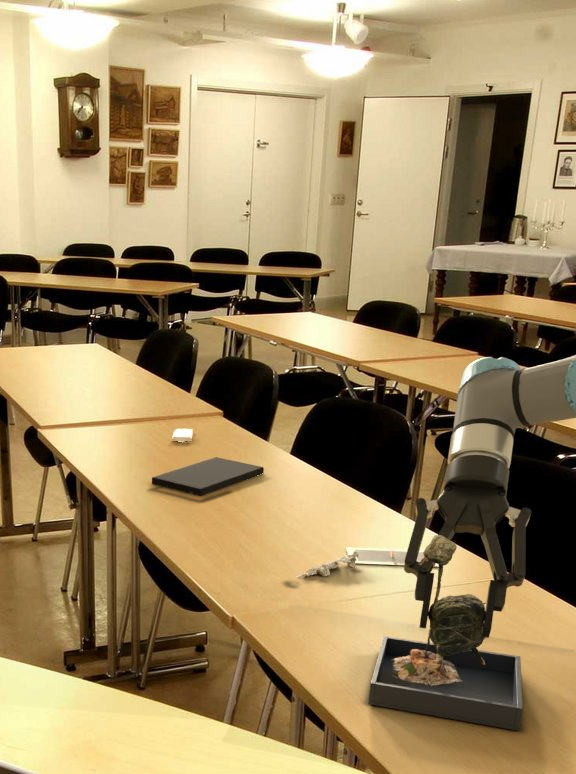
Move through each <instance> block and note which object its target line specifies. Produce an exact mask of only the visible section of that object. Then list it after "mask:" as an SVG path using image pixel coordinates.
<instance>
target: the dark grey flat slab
mask: <svg viewBox="0 0 576 774" xmlns="http://www.w3.org/2000/svg"><path fill="white" fill-rule="evenodd" d="M264 469H265V468H264V466H260V465H256V464H250V463H245V462H241V461H236V460H232V459H227V458H222V457H217V456H215V457H211V458H210V459H205V460H202V461H200V462H196V463H193V464H190V465H188V466H183V467H180V468H178V469H177V468H176V469H174V470H171V471H168V472H165V473H162V474H159V475H155V476H152V477H151V485H155V486H158V487H163V488H167V489H170V490H174V491H178V492H182V493H185V494H191V495H195V496H198V497H202V496H206V495H209V494H211V493H214V492H217V491H221V490H222V489H225V488H228V487H231V486H234V485H236V484H240V483H242V482H244V481H245V482H246V481H248V480H250V478H251V479H253V478H252V477H254V478H256V477H258V476H257V475H259V476H261V475H260V474H262V473H263V474H264ZM263 474H262V475H263ZM255 476H256V477H255ZM247 479H248V480H247Z"/></svg>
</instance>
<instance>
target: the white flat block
mask: <svg viewBox="0 0 576 774" xmlns="http://www.w3.org/2000/svg"><path fill="white" fill-rule="evenodd" d="M192 436H193V437H194V431H193V428H176V429H174V431H173V434H172V437H171V442H172V441H178V442H182V443H181V444H184V443H183V442H184V441H191V442H192V440H193V437H192ZM191 439H192V440H191Z"/></svg>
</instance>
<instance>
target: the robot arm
mask: <svg viewBox="0 0 576 774" xmlns="http://www.w3.org/2000/svg"><path fill="white" fill-rule="evenodd" d="M460 380H461V381H460V384H459V389H458V390H457V394H456V405H455V414H454V421H453V428H452V434H451V436H450V444H449V449H448V455H447V466H446V468H445V474H444V475H445V476H444V481H443V487H442V492H441V494H440V495H439V496H438V497H437V499H432V500H431V499H430V500H426V499H425V498H423V497H420V498H417V499H416V500H415V521H414V526H413V529H412V532H411V536H410V540H409V542H408V543H409V544H408V546H407V549H406V550H407V554H406V557H405V562H404V565H403V570H404V573H406V574H412V575H414V576H415V577H416V583H415V590H414V601H419V602H422V608H421V614H420V620H419V629H427V625H428V620H429V618H428V612H429V609H430V607H431V600H432V599H431V598H432V592H433V587H434V579H435V572H432V571H433V569H434V568H435V564H436V563H434V562H428V561H426V562H424V563H423V564H422V565H419V562H418V561H417V557H418V553H419V550H421V546H422V542H423V539H424V535H425V532H426V528H427V522H428V519H431V518H432V517H433V515H434V512H435V511H438V513H439V514H440V516H441V517H442V518H443V520H444V523H443V525H442V527H441V529H440V530H439V532H438V533H437V535H442V536H443V537H445V538H446V539H448V540H452V539H453V537H454V536H455V534H456V533H461V534H462V533H470V534H473V535H480V538H481V541H482V543H483V546H484V550H485V552H486V556H487V560H488V563H489V567H490V570H491V575H492V579H490V581H489V585H488V589H487V596H486V602H485V603H486V604H485V612H486V613H485V619H484V625H483V633H482V637H485V638H490V635H491V632H492V626H493V618H494V612H499V613H500V612H502V611H503V610H504V609H505V608H504V607H505V605H506V599H507V598H506V597H507V590H508V588H510V587H517V588H518V587H521V586H522V585H523V584H524V580H525V577H526V553H527V552H526V550H527V549H526V547H527V545H526V543H527V542H526V539H527V538H526V537H527V534H526V532H527V526H528V524H529V521H530V518H531V514H532V510H531V509H530V508H529V507H522V508H521V509H518V508H515V507H512V506H510V503H509V502H508V499H507V492H508V484H509V478H510V466H511V464H512V463H511V462H512V455H513V447H514V439H515V433H516V430H517V429H519V428H524V427H525V428H526V427H532V426H535V425H540V424H547V423H553V422H560V421H565V420H572V419H576V354H575V355H571V356H570V357H565V358H563V359H559V360H556V361H551V362H547V363H544V364H539V365H536V366H532V367H527V368H526V367H525V368H521V367H520V365H519V364H518V363H517V362H515V361H514V360H512V359H509V358H507V357H503V356H501V357H499V358H494V357H492V356H487V357H481V358H480V359H477V360H475V361H473V362H471V363H470V364H469V365H468V366H466V368H465V369H464V371H463V373H462V375H461V379H460ZM506 517H507V518H508V524H509V525H510V526H511V527H512V528H513V531H512V536H511V537H512V539H511V540H512V541H511V543H512V545H511V572H508V569H507V567H506V563H505V559H504V556H503V552H502V549H501V545H500V542H499V538H498V535H497V528H496V525H497V524H498V523H499V522H500V521H502V520H503V519H505V518H506Z"/></svg>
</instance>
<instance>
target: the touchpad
mask: <svg viewBox="0 0 576 774" xmlns="http://www.w3.org/2000/svg"><path fill="white" fill-rule="evenodd" d="M345 549H346V553H347V555H352V554H353V552H354V551H355V552H357V554H358V558H357V557H356V560H357V561H355V564H363V565H388V566H389V565H391V566H404V562H405V557H406V554H407V550H408V549H403V548H402V549H400V548H378V547H377V548H376V547H375V548H374V547H373V548H372V547H350V546H346V547H345ZM424 551H425V549H420V550H419V553H418V557H417V561H418V562H420V561H421V559H423V558H424V554H423V552H424ZM435 567H437V568H439V564H437V563H436V564H435V566H434V568H435Z"/></svg>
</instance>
